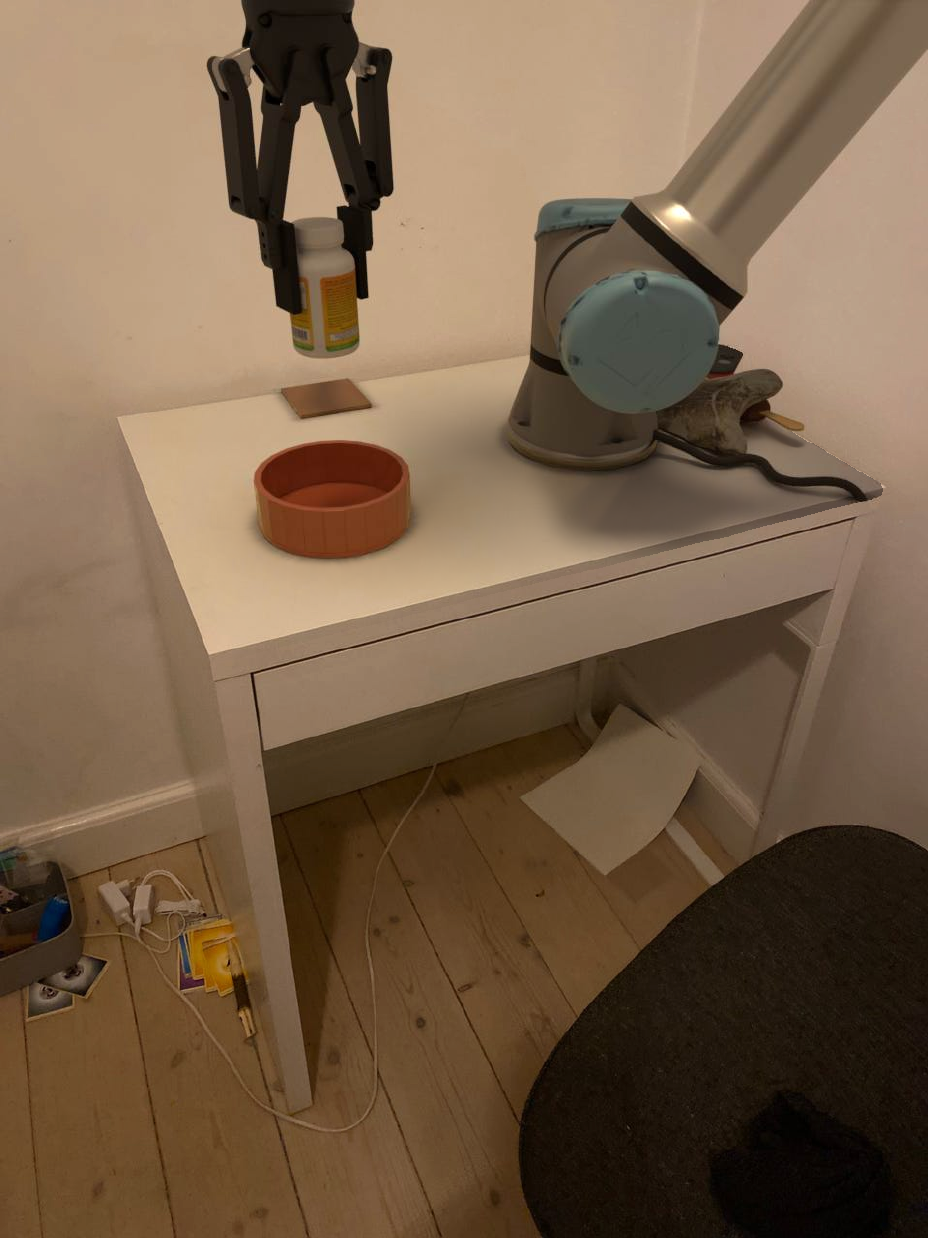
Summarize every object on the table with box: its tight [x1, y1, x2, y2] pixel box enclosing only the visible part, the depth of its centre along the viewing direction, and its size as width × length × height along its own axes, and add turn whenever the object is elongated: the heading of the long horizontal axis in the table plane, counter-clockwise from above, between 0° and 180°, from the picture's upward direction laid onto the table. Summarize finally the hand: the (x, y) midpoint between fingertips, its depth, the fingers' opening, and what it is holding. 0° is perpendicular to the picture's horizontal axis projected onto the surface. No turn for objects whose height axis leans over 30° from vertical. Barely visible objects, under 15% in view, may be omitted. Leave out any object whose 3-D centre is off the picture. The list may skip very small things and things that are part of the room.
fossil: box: [656, 368, 784, 455], centre depth 100 cm, size 11×5×15 cm
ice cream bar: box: [705, 375, 805, 432], centre depth 101 cm, size 3×5×15 cm
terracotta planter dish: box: [253, 439, 412, 559], centre depth 83 cm, size 13×13×4 cm
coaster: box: [280, 377, 373, 419], centre depth 106 cm, size 8×8×1 cm
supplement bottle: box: [289, 216, 361, 360], centre depth 75 cm, size 5×5×10 cm
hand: (323, 301), depth 75 cm, fingers closed on supplement bottle, 5 cm apart
